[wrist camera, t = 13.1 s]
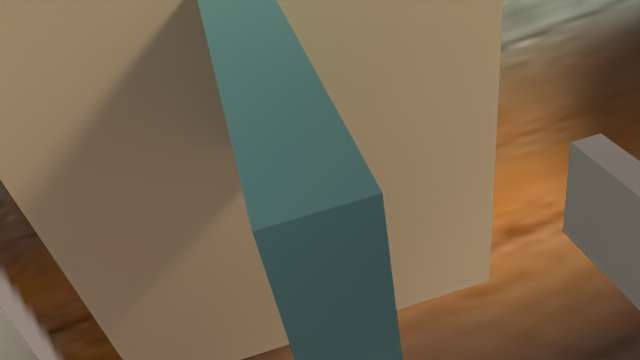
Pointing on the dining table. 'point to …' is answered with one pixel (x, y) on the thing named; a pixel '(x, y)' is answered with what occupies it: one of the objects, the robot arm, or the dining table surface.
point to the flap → (254, 164)
